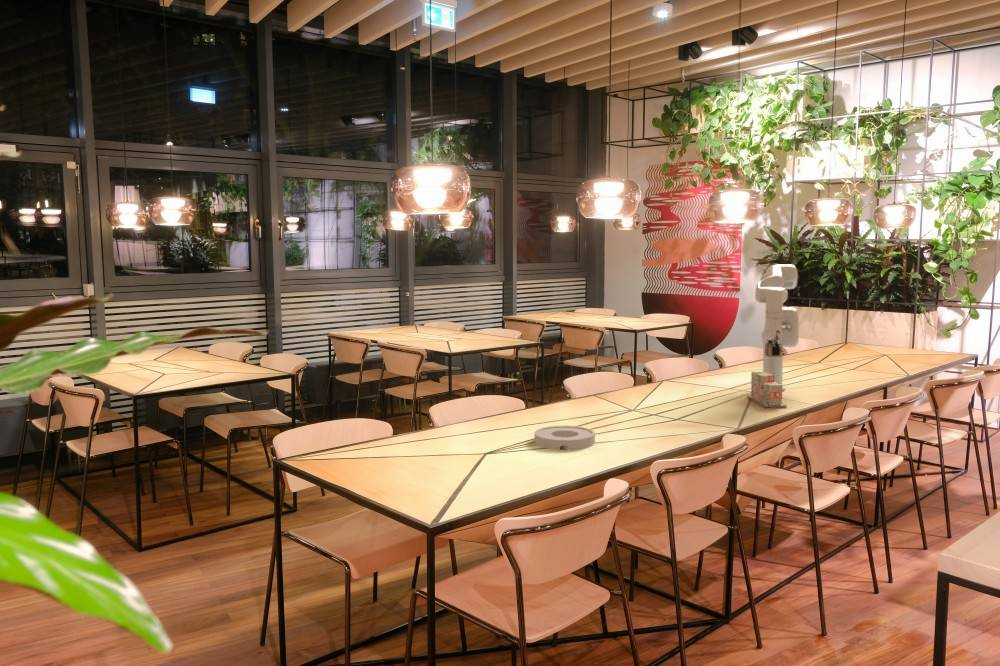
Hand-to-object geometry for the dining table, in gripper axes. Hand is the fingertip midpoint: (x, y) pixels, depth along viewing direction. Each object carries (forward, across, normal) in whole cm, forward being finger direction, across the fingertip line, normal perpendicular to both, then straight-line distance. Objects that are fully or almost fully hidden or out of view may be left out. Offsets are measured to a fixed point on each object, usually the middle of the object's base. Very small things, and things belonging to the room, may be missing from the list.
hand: (773, 353), depth 360 cm
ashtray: (+23, +64, -105) cm, 125 cm away
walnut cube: (+1, 0, 0) cm, 1 cm away
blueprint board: (+23, -1, -2) cm, 23 cm away
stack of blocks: (+22, 0, -3) cm, 23 cm away
